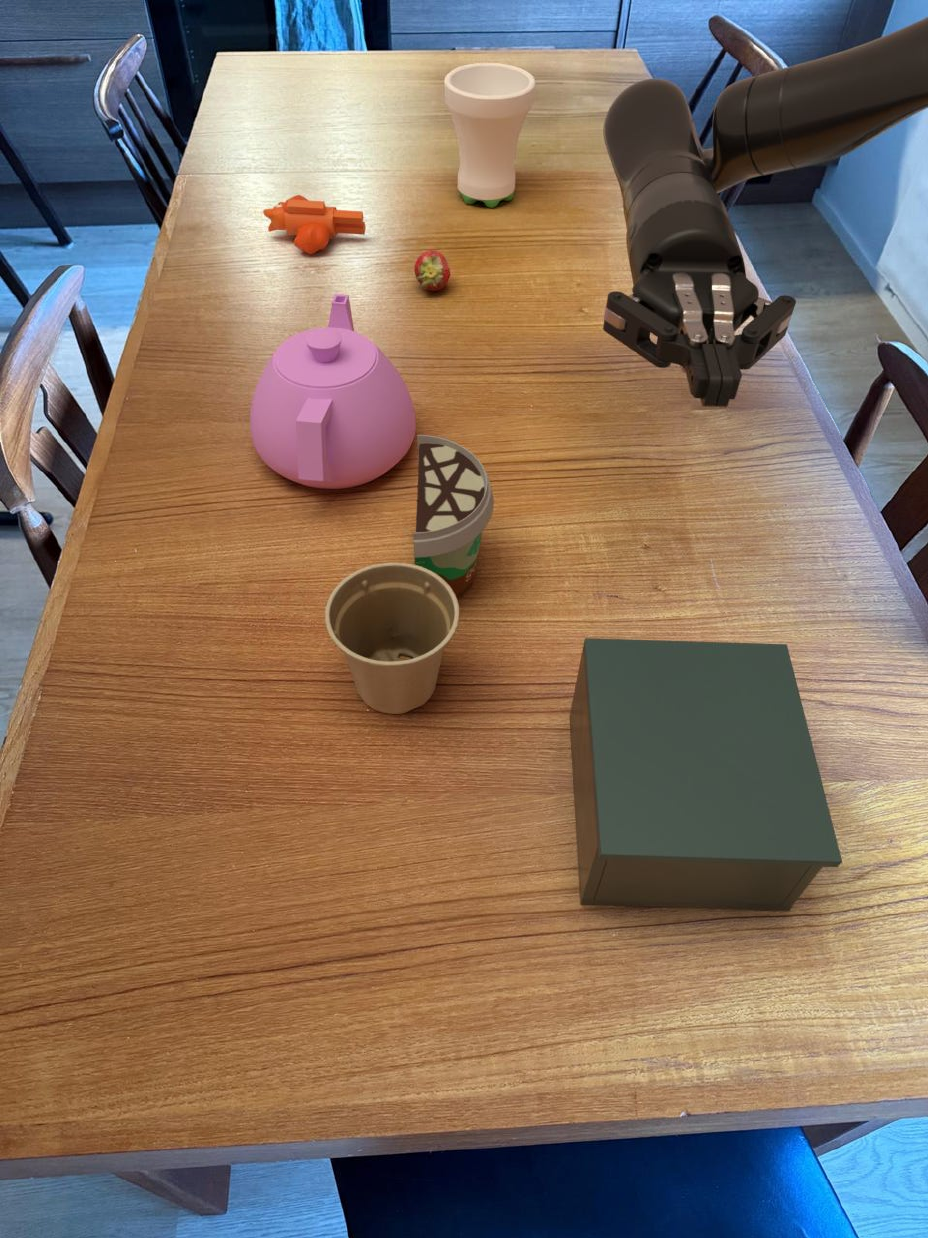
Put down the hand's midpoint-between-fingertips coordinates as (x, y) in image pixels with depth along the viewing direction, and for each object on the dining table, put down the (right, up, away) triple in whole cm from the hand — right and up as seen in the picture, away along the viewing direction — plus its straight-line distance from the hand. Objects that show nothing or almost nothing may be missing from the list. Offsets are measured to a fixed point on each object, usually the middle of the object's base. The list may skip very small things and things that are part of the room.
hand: (718, 394), depth 54 cm
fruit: (-19, +26, +52) cm, 61 cm away
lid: (-1, -21, +2) cm, 22 cm away
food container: (-16, -9, +23) cm, 30 cm away
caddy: (-1, -27, +9) cm, 28 cm away
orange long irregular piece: (-34, +33, +58) cm, 74 cm away
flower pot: (-21, -18, +16) cm, 32 cm away
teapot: (-28, +3, +33) cm, 44 cm away
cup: (-12, +43, +66) cm, 80 cm away
